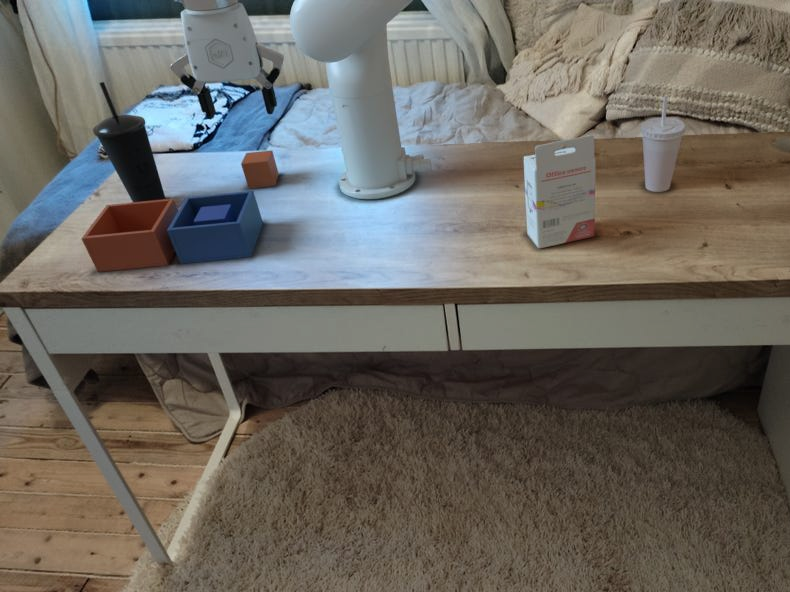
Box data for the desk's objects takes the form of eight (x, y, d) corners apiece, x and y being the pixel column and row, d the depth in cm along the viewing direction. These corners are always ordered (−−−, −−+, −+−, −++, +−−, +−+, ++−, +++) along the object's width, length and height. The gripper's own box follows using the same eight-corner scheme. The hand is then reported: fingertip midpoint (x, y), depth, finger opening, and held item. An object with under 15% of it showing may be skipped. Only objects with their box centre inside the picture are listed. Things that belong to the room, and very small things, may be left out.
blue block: (240, 230, 107) (231, 204, 104) (233, 245, 104) (224, 218, 101) (210, 233, 107) (200, 206, 104) (203, 248, 104) (193, 221, 101)
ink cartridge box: (581, 221, 102) (583, 121, 93) (595, 237, 99) (598, 135, 89) (525, 233, 101) (521, 133, 92) (537, 250, 97) (534, 147, 88)
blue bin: (263, 223, 110) (253, 190, 106) (250, 257, 102) (239, 223, 98) (197, 229, 110) (185, 197, 106) (180, 263, 102) (166, 230, 98)
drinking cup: (117, 211, 117) (63, 89, 104) (153, 191, 122) (105, 72, 109) (149, 219, 114) (97, 93, 101) (184, 198, 119) (139, 76, 106)
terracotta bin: (186, 230, 110) (174, 198, 106) (167, 265, 102) (153, 231, 98) (121, 237, 110) (106, 204, 106) (97, 272, 102) (81, 238, 98)
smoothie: (634, 195, 107) (641, 103, 99) (637, 176, 112) (644, 87, 103) (678, 196, 106) (688, 103, 97) (679, 178, 111) (689, 87, 102)
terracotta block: (279, 174, 123) (272, 150, 120) (274, 186, 120) (267, 161, 117) (253, 177, 123) (246, 152, 120) (248, 188, 120) (240, 163, 117)
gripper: (142, 8, 100) (181, 126, 111) (264, -1, 100) (291, 118, 111) (158, -4, 106) (193, 109, 117) (273, -13, 106) (298, 101, 117)
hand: (241, 113), depth 114 cm, fingers open, 9 cm apart
